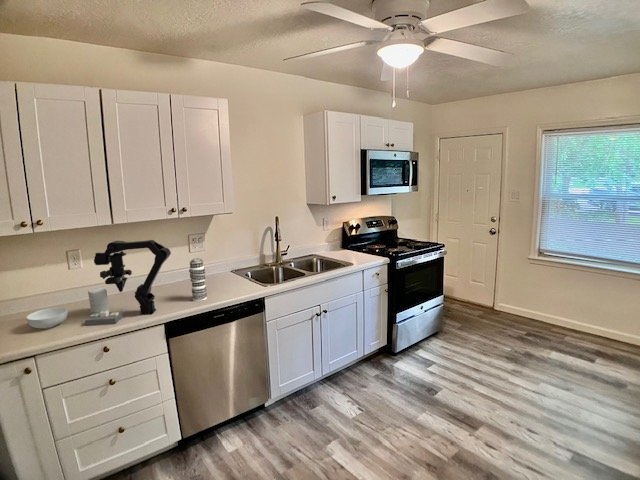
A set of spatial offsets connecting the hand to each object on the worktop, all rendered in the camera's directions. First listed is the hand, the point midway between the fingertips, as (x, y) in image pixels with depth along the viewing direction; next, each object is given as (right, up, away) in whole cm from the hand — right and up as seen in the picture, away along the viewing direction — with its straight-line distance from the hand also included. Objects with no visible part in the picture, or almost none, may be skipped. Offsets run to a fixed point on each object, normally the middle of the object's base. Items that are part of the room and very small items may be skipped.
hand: (121, 291), depth 196 cm
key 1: (-10, -14, -7) cm, 18 cm away
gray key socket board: (-5, -15, -6) cm, 17 cm away
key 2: (0, -13, -6) cm, 15 cm away
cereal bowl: (-31, -16, -10) cm, 37 cm away
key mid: (-5, -12, -7) cm, 15 cm away
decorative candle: (+35, -8, +23) cm, 43 cm away
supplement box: (-16, -12, +8) cm, 22 cm away
